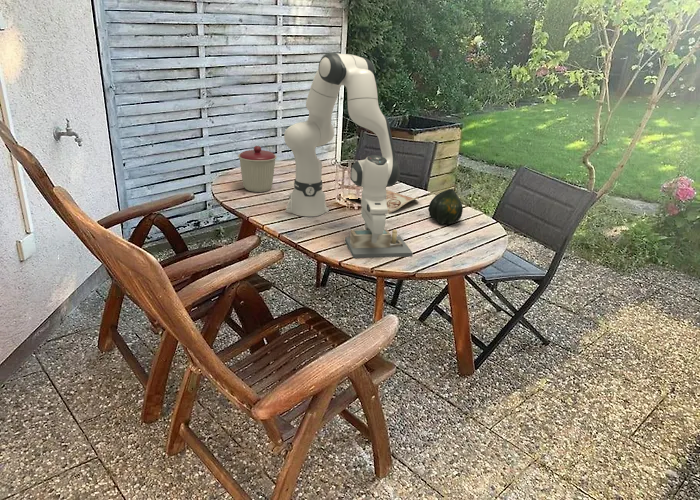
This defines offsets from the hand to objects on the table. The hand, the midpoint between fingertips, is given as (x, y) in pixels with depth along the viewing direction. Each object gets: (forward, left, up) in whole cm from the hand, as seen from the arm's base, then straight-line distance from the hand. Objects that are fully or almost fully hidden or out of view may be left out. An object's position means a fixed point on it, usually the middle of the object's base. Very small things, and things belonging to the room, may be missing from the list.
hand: (370, 237), depth 195 cm
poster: (-57, +20, -5) cm, 61 cm away
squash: (-28, +40, -5) cm, 49 cm away
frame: (0, +3, -3) cm, 4 cm away
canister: (-75, -38, -5) cm, 84 cm away
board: (0, +3, -5) cm, 6 cm away
